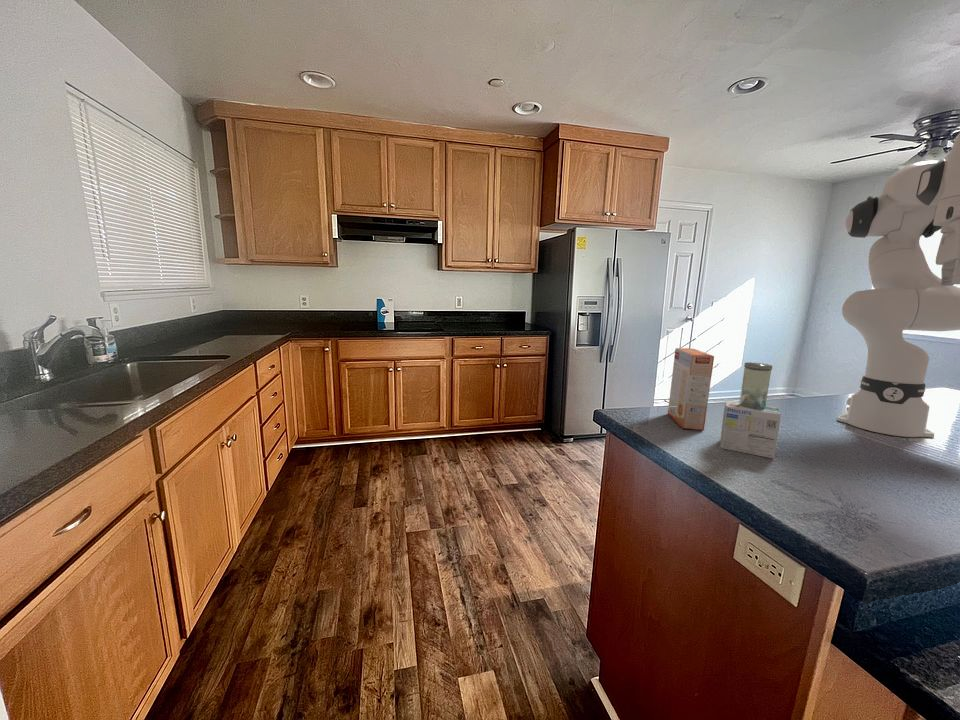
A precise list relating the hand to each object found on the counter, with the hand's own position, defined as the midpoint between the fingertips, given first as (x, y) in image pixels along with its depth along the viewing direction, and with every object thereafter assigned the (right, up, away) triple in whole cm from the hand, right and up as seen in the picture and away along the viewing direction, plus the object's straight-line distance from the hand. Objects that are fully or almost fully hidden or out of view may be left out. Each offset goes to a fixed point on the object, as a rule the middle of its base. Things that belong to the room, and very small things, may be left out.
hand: (952, 285), depth 75 cm
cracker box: (-36, -34, +33) cm, 59 cm away
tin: (-32, -26, +12) cm, 43 cm away
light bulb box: (-32, -37, +14) cm, 51 cm away
